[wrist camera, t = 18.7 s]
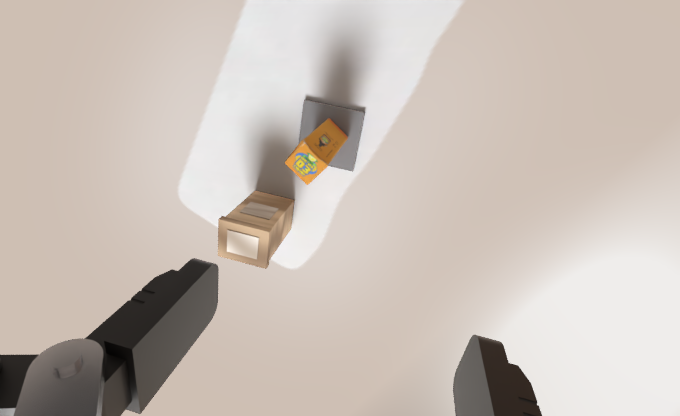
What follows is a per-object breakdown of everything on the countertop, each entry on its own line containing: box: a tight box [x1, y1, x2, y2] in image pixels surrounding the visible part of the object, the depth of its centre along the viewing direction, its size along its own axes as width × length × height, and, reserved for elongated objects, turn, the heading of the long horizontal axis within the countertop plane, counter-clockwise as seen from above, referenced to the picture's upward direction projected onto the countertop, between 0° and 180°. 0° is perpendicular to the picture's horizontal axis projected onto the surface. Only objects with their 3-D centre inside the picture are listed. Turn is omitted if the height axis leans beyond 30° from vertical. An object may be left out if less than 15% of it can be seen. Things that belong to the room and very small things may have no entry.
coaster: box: [299, 100, 365, 171], centre depth 41 cm, size 7×7×1 cm
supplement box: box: [285, 118, 348, 185], centre depth 37 cm, size 3×3×10 cm
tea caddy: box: [218, 191, 294, 269], centre depth 43 cm, size 5×6×9 cm
